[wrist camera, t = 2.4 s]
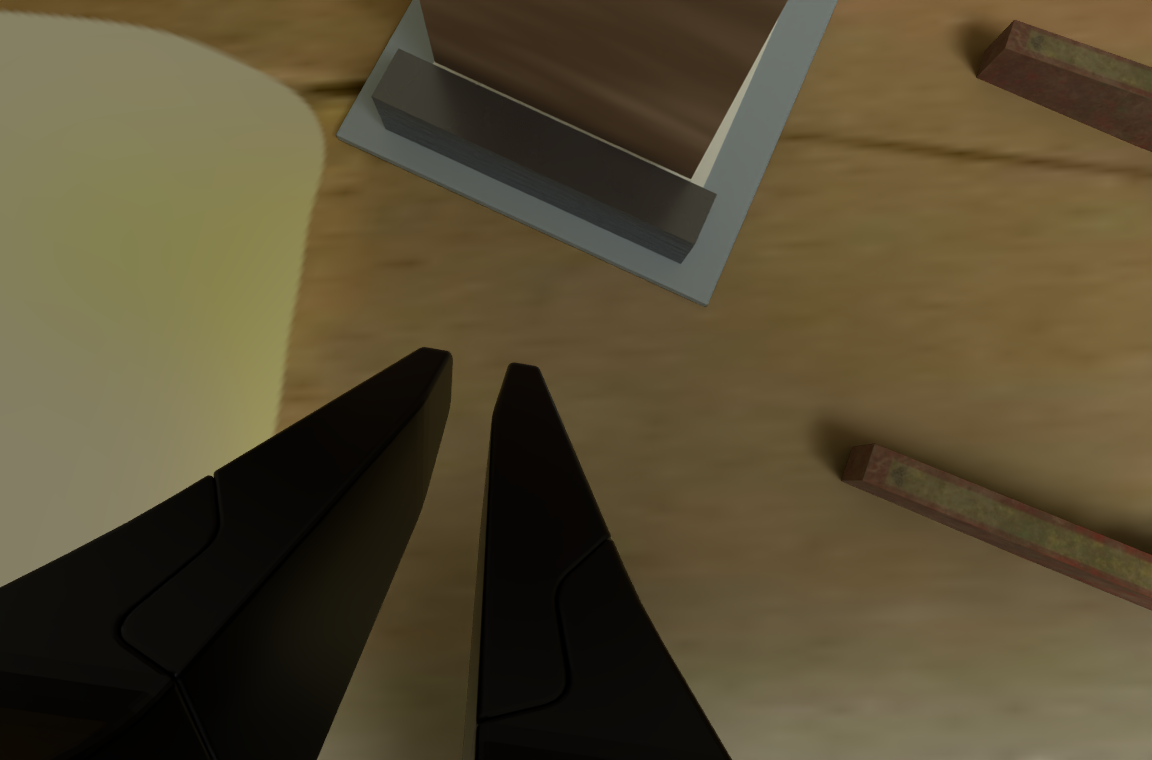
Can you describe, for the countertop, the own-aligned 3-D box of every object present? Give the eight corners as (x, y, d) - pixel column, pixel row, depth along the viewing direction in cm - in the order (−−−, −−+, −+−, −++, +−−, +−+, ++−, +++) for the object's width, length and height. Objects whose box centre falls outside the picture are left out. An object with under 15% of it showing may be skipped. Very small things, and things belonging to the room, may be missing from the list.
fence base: (680, 264, 22) (694, 244, 20) (385, 129, 22) (371, 96, 20) (701, 217, 23) (717, 194, 21) (410, 84, 23) (398, 48, 21)
